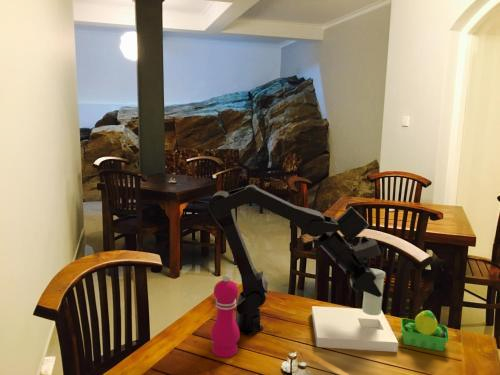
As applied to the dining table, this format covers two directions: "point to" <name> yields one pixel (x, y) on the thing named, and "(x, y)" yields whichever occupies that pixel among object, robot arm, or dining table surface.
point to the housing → (352, 329)
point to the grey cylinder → (371, 301)
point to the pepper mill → (225, 319)
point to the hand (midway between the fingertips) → (378, 291)
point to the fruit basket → (424, 331)
